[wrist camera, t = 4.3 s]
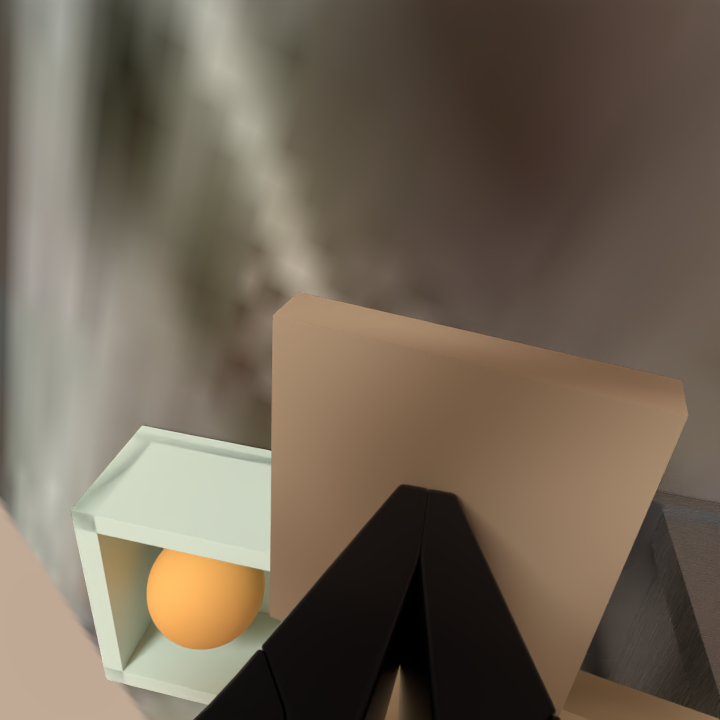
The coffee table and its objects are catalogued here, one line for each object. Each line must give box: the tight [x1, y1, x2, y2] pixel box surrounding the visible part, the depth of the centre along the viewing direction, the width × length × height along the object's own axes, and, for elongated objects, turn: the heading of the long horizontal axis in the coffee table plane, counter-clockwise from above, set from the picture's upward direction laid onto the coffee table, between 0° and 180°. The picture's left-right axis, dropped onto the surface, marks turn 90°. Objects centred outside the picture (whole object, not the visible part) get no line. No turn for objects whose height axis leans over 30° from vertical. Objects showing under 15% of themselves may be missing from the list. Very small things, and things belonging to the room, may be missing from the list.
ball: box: [147, 548, 265, 650], centre depth 18 cm, size 3×3×3 cm
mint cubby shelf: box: [71, 426, 282, 705], centre depth 18 cm, size 10×7×4 cm
